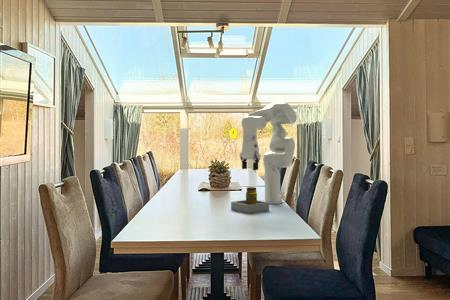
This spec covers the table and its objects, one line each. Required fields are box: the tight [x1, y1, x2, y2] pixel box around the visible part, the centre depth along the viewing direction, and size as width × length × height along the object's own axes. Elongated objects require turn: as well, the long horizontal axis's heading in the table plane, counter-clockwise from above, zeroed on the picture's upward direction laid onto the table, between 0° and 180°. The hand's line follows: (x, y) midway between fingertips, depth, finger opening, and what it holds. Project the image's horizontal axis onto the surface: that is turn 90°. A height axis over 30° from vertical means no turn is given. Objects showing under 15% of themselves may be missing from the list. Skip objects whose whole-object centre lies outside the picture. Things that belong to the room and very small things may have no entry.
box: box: [230, 199, 270, 214], centre depth 226 cm, size 15×15×4 cm
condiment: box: [245, 186, 258, 205], centre depth 226 cm, size 7×8×12 cm
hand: (250, 169), depth 226 cm, fingers open, 9 cm apart
